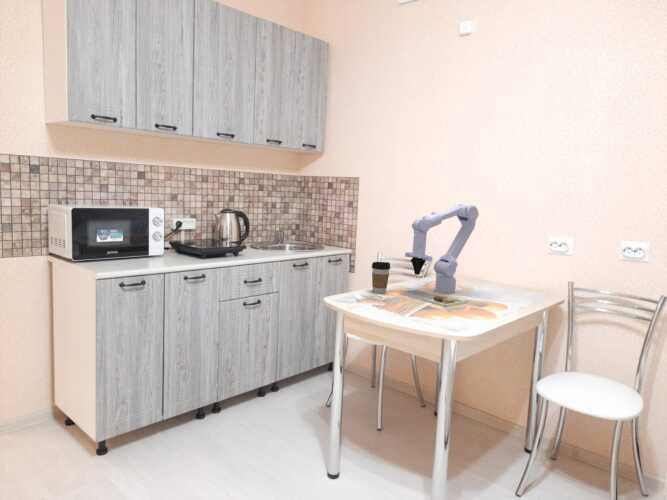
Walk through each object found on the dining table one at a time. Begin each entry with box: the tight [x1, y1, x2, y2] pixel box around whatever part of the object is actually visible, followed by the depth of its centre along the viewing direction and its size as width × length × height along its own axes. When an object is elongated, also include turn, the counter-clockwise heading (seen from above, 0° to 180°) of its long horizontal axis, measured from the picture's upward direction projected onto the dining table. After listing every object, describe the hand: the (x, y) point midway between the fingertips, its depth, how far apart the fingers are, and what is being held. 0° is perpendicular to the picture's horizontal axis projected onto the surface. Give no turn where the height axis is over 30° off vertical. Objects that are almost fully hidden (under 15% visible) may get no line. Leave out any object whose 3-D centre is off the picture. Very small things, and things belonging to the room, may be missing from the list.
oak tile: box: [442, 298, 457, 304], centre depth 215 cm, size 4×4×2 cm
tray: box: [422, 294, 467, 308], centre depth 217 cm, size 14×12×2 cm
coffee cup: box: [371, 261, 391, 295], centre depth 229 cm, size 8×8×15 cm
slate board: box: [397, 290, 437, 302], centre depth 227 cm, size 14×15×1 cm
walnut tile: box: [433, 295, 446, 303], centre depth 219 cm, size 4×4×2 cm
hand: (417, 274), depth 231 cm, fingers closed
